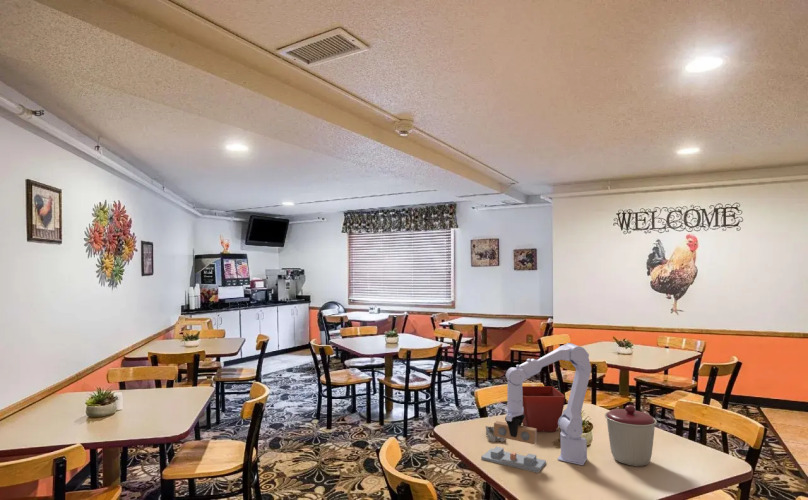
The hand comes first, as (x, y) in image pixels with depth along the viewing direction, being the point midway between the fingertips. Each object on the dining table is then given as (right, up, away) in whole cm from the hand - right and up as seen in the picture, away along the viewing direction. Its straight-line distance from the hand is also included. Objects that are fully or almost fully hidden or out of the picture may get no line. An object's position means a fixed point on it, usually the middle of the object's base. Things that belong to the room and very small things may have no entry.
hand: (515, 435), depth 181 cm
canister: (+44, -10, -1) cm, 46 cm away
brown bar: (0, -2, 0) cm, 2 cm away
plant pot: (+20, -11, +37) cm, 44 cm away
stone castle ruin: (-3, -11, +24) cm, 26 cm away
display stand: (-1, -9, -2) cm, 10 cm away
